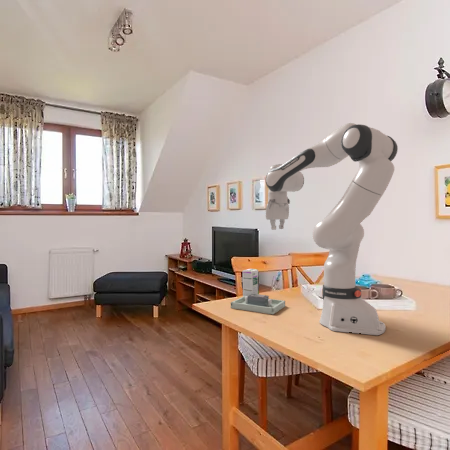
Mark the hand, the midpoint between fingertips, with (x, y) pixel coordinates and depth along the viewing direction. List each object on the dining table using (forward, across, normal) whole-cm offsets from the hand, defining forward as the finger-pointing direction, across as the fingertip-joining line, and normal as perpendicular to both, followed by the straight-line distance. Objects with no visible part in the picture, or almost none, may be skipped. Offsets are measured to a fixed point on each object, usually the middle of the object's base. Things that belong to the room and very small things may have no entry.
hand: (277, 229), depth 155 cm
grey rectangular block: (+33, -14, +4) cm, 36 cm away
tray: (+34, -14, +4) cm, 37 cm away
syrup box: (+34, -3, +13) cm, 37 cm away
